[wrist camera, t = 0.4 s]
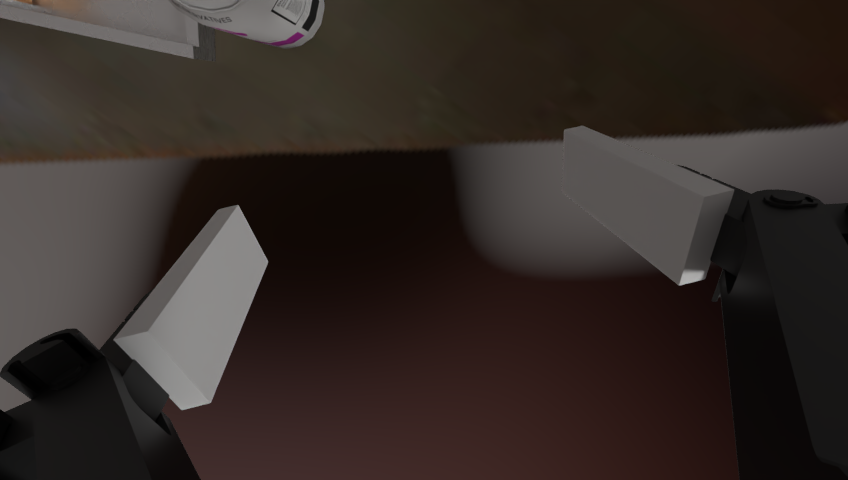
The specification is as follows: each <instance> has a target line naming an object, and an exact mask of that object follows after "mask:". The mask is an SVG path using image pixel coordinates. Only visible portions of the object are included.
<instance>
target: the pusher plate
mask: <svg viewBox="0 0 848 480" xmlns="http://www.w3.org/2000/svg"><path fill="white" fill-rule="evenodd" d="M15 1H19V2H24V3H28V4H32V0H15Z"/></svg>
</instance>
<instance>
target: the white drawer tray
mask: <svg viewBox="0 0 848 480" xmlns="http://www.w3.org/2000/svg"><path fill="white" fill-rule="evenodd" d="M0 18H4V19H9V20H14V21H18V22H23V23H28V24H32V25H37V26H42V27H47V28H51V29H56V30H61V31H66V32H70V33H75V34H80V35H84V36H89V37H94V38H99V39H103V40H108V41H113V42H118V43H122V44H127V45H132V46H136V47H141V48H146V49H151V50H155V51H160V52H165V53H170V54H174V55H179V56H184V57H189V58H193V59H201V60H209V61H216V60H215V33H214V28H212V27H209V26H205V25H202V24H200V23H199V22H197V21H195V20H193V19H192V18H190V17H188V16H187V15H185V14H183V13H181V12H180V11H178V10H177V9H176V8H175V7H174V6H173V5H172V4H171V3H170V2H169V1H168V0H32V4H28V3H24V2H19V1H15V0H0Z"/></svg>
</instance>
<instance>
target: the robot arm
mask: <svg viewBox="0 0 848 480" xmlns="http://www.w3.org/2000/svg"><path fill="white" fill-rule="evenodd" d="M562 193H564V194H565V195H566V196H567V197H569V198H570V199H571V200H572V201H574V202H575V203H576V204H577V205H579V206H580V207H581V208H582V209H584V210H585V211H586V212H587V213H589V214H590V215H591V216H592V217H594V218H595V219H596V220H598V221H599V222H600V223H601V224H602V225H604V226H605V227H606V228H608V229H609V230H610V231H611V232H613V233H614V234H615V235H616V236H618V237H619V238H620V239H621V240H623V241H624V242H625V243H626V244H628V245H629V246H630V247H631V248H633V249H634V250H635V251H636V252H638V253H639V254H640V255H641V256H643V257H644V258H645V259H646V260H648V261H649V262H650V263H651V264H653V265H654V266H655V267H656V268H658V269H659V270H660V271H662V272H663V273H664V274H665V275H667V276H668V277H669V278H670V279H672V280H673V281H674V282H675V283H677V284H678V285H683V284H687V283H691V282H695V281H699V280H703V279H705V277H706V274H707V271H708V268H709V265H710V262H711V261H712V262H714V263H716V264H717V265H719V266H720V267H722V268H723V271H722V273H721V276H720V279H719V282H718V284H717V287H716V290H715V293H714V295H713V298H712V301H714V302H717V300H718V298H719V297H720V296H721V303H722V313H723V323H724V333H725V343H726V351H727V362H728V371H729V382H730V392H731V401H732V411H733V421H734V430H735V440H736V451H737V460H738V471H739V480H848V203H843V204H826V205H825V204H823V203H822V202H821V201H820V200H819V199H817V198H815V197H812V196H810V195H807V194H803V193H799V192H795V191H786V190H763V191H757V192H755V193H753V194H750V193H748V192H745V191H743V190H740V189H738V188H735V187H733V186H731V185H728V184H726V183H724V182H721V181H718V180H716V179H712V178H711V177H709V176H707V175H704V174H700V173H699V172H697V171H695V170H692V169H690V168H687V167H684V166H679V165H675V164H673V163H670V162H668V161H665V160H663V159H660V158H658V157H656V156H653V155H651V154H649V153H646V152H643V151H642V150H639V149H637V148H634V147H632V146H630V145H627V144H625V143H623V142H620V141H618V140H615V139H613V138H611V137H608V136H606V135H604V134H601V133H599V132H596V131H594V130H592V129H589V128H587V127H585V126H579V127H574V128H570V129H566V130H564V149H563V177H562ZM267 263H268V261H267V259H266V257H265V255H264V253H263V251H262V249H261V247H260V245H259V243H258V241H257V240H256V238H255V236H254V234H253V232H252V230H251V228H250V227H249V224H248V223H247V221H246V219H245V217H244V215H243V213H242V211H241V209H240V208H239V205H236V206H231V207H227V208H223V209H219V210H218V211H217V212H216V213H215V214H214V216H213V217H212V218H211V219H210V221H209V222H208V223H207V224H206V225H205V227H204V228H203V229H202V230H201V232H200V233H199V234H198V235H197V237H196V238H195V239H194V240H193V242H192V243H191V244H190V245H189V247H188V248H187V249H186V250H185V251H184V253H183V254H182V255H181V256H180V258H179V259H178V260H177V261H176V263H175V264H174V265H173V266H172V268H171V269H170V270H169V271H168V272H167V274H166V275H165V276H164V277H163V279H162V280H161V281H160V282H159V284H158V285H157V286H156V287H155V288H154V289H152V290H151V291H150V292H149V293H148V294H146V295H145V296H144V297H143V298H142V299H141V300H140V301H139V303H138V304H137V305H136V306H135V308H134V309H133V310H134V311H132V312H130V314H129V315H128V316H127V317H126V319H125V322H122V324H121V325H120V326H119V327H118V328H117V330H116V331H115V332H114V333H113V334H112V335H111V337H110V338H109V339H108V340H107V341H106V343H105V344H104V345H103V346H102V348H101V349H100V350H98V349H97V348H96V347H95V346H94V345H93V344H92V343H91V342H90V341H89V340H88V339H87V338H86V337H85V336H84V335H83V334H82V333H81V332H80V331H78V330H77V329H65V330H62V331H59V332H55V333H53V334H50V335H48V336H46V337H44V338H42V339H40V340H38V341H37V342H35V343H33V344H31V345H29V346H28V347H26V348H25V349H23V350H22V351H21V352H19V353H18V354H17V355H15V356H14V357H13V358H12V359H11V360H10V361H9V362H8V363H7V364H6V365H5V366H4V367H3V368H2V371H1V372H0V377H2V378H3V379H4V380H6V381H7V382H8V383H10V384H11V385H13V386H14V387H15V388H17V389H18V390H19V391H21V392H22V393H23V394H25V395H26V396H27V397H29V398H30V399H31V401H29V402H26V403H24V404H22V405H19V406H17V407H15V408H13V409H10V410H8V411H6V412H3V411H2V410H0V480H201V479H200V477H199V475H198V473H197V471H196V470H195V468H194V466H193V464H192V462H191V460H190V458H189V456H188V454H187V452H186V450H185V448H184V446H183V444H182V442H181V440H180V438H179V436H178V434H177V432H176V430H175V428H174V427H173V424H172V422H171V420H170V419H169V418H168V417H167V416H166V415H165V414H164V413H163V412H162V409H163V407H164V405H165V403H166V401H167V399H168V397H169V398H170V399H171V400H172V401H173V402H175V404H176V405H177V406H178V407H179V408H180V409H181V410H184V409H189V408H193V407H197V406H200V405H204V404H208V403H211V401H212V398H213V396H214V393H215V391H216V388H217V386H218V384H219V381H220V379H221V376H222V374H223V371H224V369H225V366H226V364H227V362H228V359H229V357H230V354H231V351H232V349H233V347H234V344H235V342H236V339H237V337H238V335H239V332H240V330H241V327H242V325H243V322H244V320H245V317H246V315H247V312H248V310H249V307H250V305H251V302H252V300H253V298H254V295H255V293H256V290H257V288H258V285H259V283H260V281H261V278H262V275H263V273H264V271H265V268H266V266H267Z"/></svg>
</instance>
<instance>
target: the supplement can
mask: <svg viewBox="0 0 848 480" xmlns="http://www.w3.org/2000/svg"><path fill="white" fill-rule="evenodd" d="M168 1H169V2H170V3H171V4H172V5H173V6H174V7H175V8H176V9H177V10H178V11H180V12H181V13H183V14H185V15H187V16H188V17H190V18H192V19H193V20H195V21H197V22H199V23H200V24H202V25H205V26H209V27H212V28H215V29H218V30H222V31H225V32H228V33H231V34H235V35H238V36H241V37H244V38H248V39H251V40H254V41H257V42H261V43H264V44H267V45H270V46H275V47H280V48H285V49H287V48H292V47H297V46H301V45H302V44H304V43H305V42H307V41H308V40H310V39H311V38H313V36H314V34H315V33H316V31H317V30H318V28H319V27H320V25H321V22H322V17H323V13H324V8H325V7H324V0H168Z"/></svg>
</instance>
